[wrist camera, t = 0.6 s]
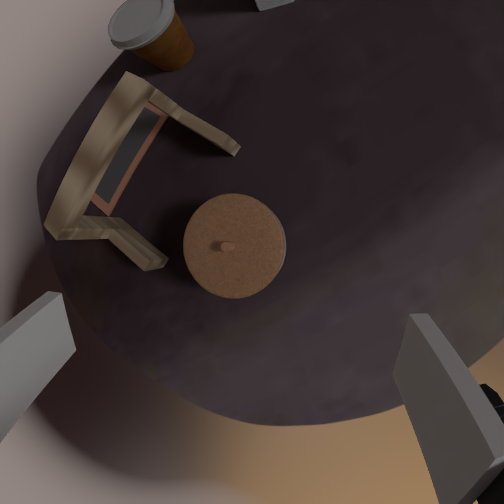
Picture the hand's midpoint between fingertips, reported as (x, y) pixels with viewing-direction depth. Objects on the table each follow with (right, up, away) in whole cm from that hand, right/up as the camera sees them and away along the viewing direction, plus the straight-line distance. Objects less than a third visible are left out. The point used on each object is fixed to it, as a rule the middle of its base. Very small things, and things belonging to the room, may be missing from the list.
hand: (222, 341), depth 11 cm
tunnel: (-10, +12, +31) cm, 35 cm away
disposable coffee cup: (-10, +33, +31) cm, 46 cm away
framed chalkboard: (-18, +17, +33) cm, 41 cm away
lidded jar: (+1, +4, +29) cm, 30 cm away
